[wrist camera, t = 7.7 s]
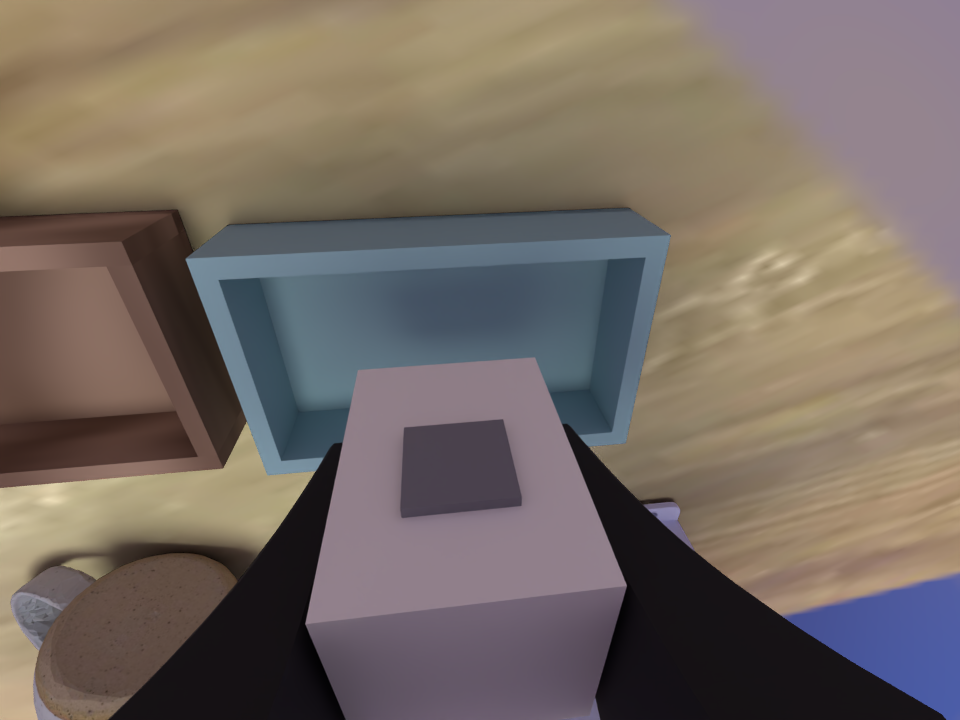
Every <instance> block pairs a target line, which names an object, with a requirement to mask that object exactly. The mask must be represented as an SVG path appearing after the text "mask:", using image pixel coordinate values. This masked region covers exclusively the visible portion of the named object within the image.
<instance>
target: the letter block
mask: <svg viewBox="0 0 960 720" xmlns="http://www.w3.org/2000/svg"><path fill="white" fill-rule="evenodd" d="M626 587H627V585H626V582H625V580H624V577H623V575H622V572H621V570H620V568H619V565H618V563H617V560H616V558H615V555H614V553H613V550H612V548H611V545H610V543H609V540H608V538H607V535H606V533H605V530H604V528H603V525H602V523H601V520H600V518H599V515H598V513H597V510H596V508H595V505H594V503H593V500H592V498H591V495H590V493H589V491H588V488H587V486H586V483H585V481H584V478H583V476H582V473H581V471H580V468H579V466H578V463H577V461H576V458H575V456H574V453H573V451H572V448H571V446H570V443H569V441H568V438H567V436H566V433H565V431H564V428H563V426H562V423H561V421H560V419H559V416H558V414H557V411H556V409H555V406H554V404H553V401H552V399H551V396H550V394H549V391H548V389H547V386H546V384H545V381H544V379H543V376H542V374H541V371H540V369H539V366H538V364H537V361H536V359H535V357H533V358H519V359H505V360H491V361H477V362H463V363H449V364H435V365H421V366H407V367H393V368H379V369H365V370H358V372H357V377H356V382H355V387H354V391H353V396H352V401H351V406H350V411H349V416H348V420H347V425H346V430H345V435H344V440H343V445H342V449H341V454H340V459H339V464H338V469H337V474H336V478H335V483H334V488H333V493H332V498H331V503H330V507H329V512H328V517H327V522H326V527H325V532H324V536H323V541H322V546H321V551H320V556H319V561H318V565H317V570H316V575H315V580H314V585H313V589H312V594H311V599H310V604H309V609H308V614H307V618H306V623H305V625H306V627H307V629H308V632H309V634H310V636H311V639H312V641H313V643H314V646H315V648H316V651H317V653H318V655H319V658H320V660H321V662H322V665H323V667H324V669H325V672H326V674H327V676H328V679H329V681H330V684H331V686H332V688H333V691H334V693H335V695H336V698H337V700H338V702H339V705H340V707H341V710H342V712H343V714H344V717H345V719H346V720H563V719H569V718H576V717H583V716H590V713H591V709H592V706H593V702H594V699H595V695H596V692H597V688H598V685H599V681H600V678H601V674H602V671H603V667H604V664H605V660H606V657H607V653H608V650H609V646H610V643H611V639H612V636H613V633H614V629H615V626H616V622H617V619H618V615H619V612H620V608H621V605H622V601H623V598H624V594H625V591H626Z"/></svg>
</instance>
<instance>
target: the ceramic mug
mask: <svg viewBox="0 0 960 720" xmlns="http://www.w3.org/2000/svg"><path fill="white" fill-rule="evenodd" d="M237 582H238V581H237V579H236V578H235V577H234V575H233V574H232V573H231V572H230V571H229V570H228V568H227V567H226V566H224V565H223V564H221V563H220V562H217V561H215V560H212V559H210V558H208V557H205V556H203V555H197V554H190V553H170V554H163V555H157V556H151V557H146V558H143V559H140V560H137V561H133V562H131V563H128V564H126V565H123V566H121V567H119V568H117V569H116V570H114V571H112V572H110V573H108V574H106V575H105V576H103V577H101V578H99V579H98V580H96V579H94V578H93V577H91V576H89V575H87V574H86V573H84V572H82V571H79V570H75V569H73V568H70V567H66V566H54V567H50V568H48V569H46V570H45V571H43V572H42V573H40V574H39V575H37V576H36V577H35V578H33V579H32V580H31V581H29V582H28V583H26V584H25V585H24V586H22V587H21V588H20V589H19V590H17V591H16V592H15V593H14V594H13V595H12V598H11V608H12V612H13V615H14V617H15V619H16V621H17V623H18V625H19V626H20V628H21V630H22V631H23V633H24V634H25V635H26V636H27V638H28V639H29V640H30V641H31V642H32V644H33V645H34V646H35V647H36V648H37V649H38V650H39V654H38V658H37V663H36V667H35V672H34V684H33V688H34V705H35V709H36V713H37V717H38V720H108V719H109V718H110V717H111V716H112V715H113V714H114V713H115V712H116V711H117V710H118V709H119V708H120V707H121V706H122V705H124V704H125V703H126V702H127V701H128V700H129V699H130V698H131V697H132V696H133V695H134V694H135V693H136V692H137V691H138V690H139V689H140V688H141V687H142V686H143V685H144V684H145V683H146V682H147V681H148V680H149V679H150V678H151V677H152V676H153V675H154V674H155V673H156V672H157V671H158V670H159V669H160V668H161V667H162V666H163V665H164V664H165V663H166V662H167V660H168V659H169V658H170V657H171V656H172V655H173V654H174V653H175V652H176V651H177V650H178V649H179V648H180V646H181V645H182V644H183V643H184V642H185V641H186V640H187V639H188V638H189V637H190V636H191V635H192V633H193V632H194V631H195V630H196V629H197V628H198V627H199V626H200V625H201V624H202V623H203V622H204V620H205V619H206V618H207V617H208V616H209V615H210V614H211V612H212V611H213V610H214V609H215V608H216V607H217V605H218V604H219V603H220V602H221V601H222V600H223V598H224V597H225V596H226V595H227V594H228V593H229V591H230V590H231V589H232V588H233V586H234V585H235V584H236V583H237Z"/></svg>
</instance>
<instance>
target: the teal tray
mask: <svg viewBox="0 0 960 720" xmlns="http://www.w3.org/2000/svg"><path fill="white" fill-rule="evenodd" d="M670 237H671V235H670V234H668V233H667V232H665V231H664V230H662V229H661V228H659V227H657V226H656V225H654V224H653V223H651V222H650V221H648V220H647V219H645V218H644V217H642V216H641V215H639V214H637V213H636V212H634V211H633V210H631V209H630V208H611V209H587V210H564V211H540V212H517V213H494V214H470V215H447V216H423V217H400V218H376V219H353V220H329V221H306V222H282V223H259V224H235V225H227V226H226V227H225V228H224V229H222V230H221V231H220V232H218V233H217V234H216V235H215V236H213V237H212V238H211V239H210V240H208V241H207V242H206V243H205V244H203V245H202V246H201V247H200V248H198V249H197V250H196V251H195V252H193V253H192V254H191V255H189V256H188V257H187V258H186V262H187V264H188V267H189V270H190V272H191V275H192V278H193V280H194V283H195V285H196V288H197V291H198V293H199V296H200V299H201V301H202V304H203V307H204V309H205V312H206V314H207V317H208V320H209V322H210V325H211V328H212V330H213V333H214V336H215V338H216V341H217V343H218V346H219V349H220V351H221V354H222V357H223V359H224V362H225V365H226V367H227V370H228V372H229V375H230V378H231V380H232V383H233V386H234V388H235V391H236V394H237V396H238V399H239V401H240V404H241V407H242V409H243V412H244V415H245V417H246V420H247V423H248V425H249V428H250V430H251V433H252V436H253V438H254V441H255V444H256V446H257V449H258V452H259V454H260V457H261V459H262V462H263V465H264V467H265V470H266V473H267V475H277V474H288V473H299V472H310V471H316V470H317V468H318V467H319V465H320V463H321V462H322V460H323V458H324V457H325V455H326V453H327V452H328V450H329V448H330V447H331V446H332V445H333V444H334V443H343V440H344V435H345V430H346V425H347V420H348V416H349V411H350V406H351V401H352V396H353V391H354V387H355V382H356V377H357V372H358V370H365V369H379V368H393V367H407V366H421V365H435V364H449V363H463V362H477V361H491V360H505V359H519V358H533V357H535V359H536V361H537V364H538V366H539V369H540V371H541V374H542V376H543V379H544V381H545V384H546V386H547V389H548V391H549V394H550V396H551V399H552V401H553V404H554V406H555V409H556V411H557V414H558V416H559V419H560V421H561V423H562V424H566V423H567V424H568V425H570V426H571V427H572V428H573V430H574V431H575V432H576V433H577V434H578V436H579V437H580V438H581V439H582V440H583V441H584V442H585V444H586V445H587V446H588V447H590V446H601V445H612V444H623V443H626V439H627V435H628V430H629V425H630V421H631V416H632V412H633V407H634V402H635V398H636V393H637V389H638V384H639V379H640V375H641V370H642V366H643V361H644V356H645V352H646V347H647V343H648V338H649V333H650V329H651V324H652V320H653V315H654V310H655V306H656V301H657V297H658V292H659V288H660V283H661V278H662V274H663V269H664V265H665V260H666V255H667V251H668V246H669V242H670Z"/></svg>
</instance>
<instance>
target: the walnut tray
mask: <svg viewBox="0 0 960 720" xmlns="http://www.w3.org/2000/svg"><path fill="white" fill-rule="evenodd" d="M192 253H193V251H192V248H191V246H190V243H189V240H188V237H187V235H186V232H185V229H184V226H183V224H182V221H181V218H180V216H179V213H178V210H162V211H136V212H111V213H86V214H60V215H35V216H10V217H0V488H4V487H16V486H27V485H39V484H50V483H62V482H73V481H85V480H96V479H107V478H119V477H130V476H142V475H153V474H165V473H176V472H187V471H199V470H210V469H222V468H224V466H225V464H226V462H227V460H228V458H229V456H230V454H231V452H232V450H233V448H234V446H235V444H236V442H237V440H238V438H239V436H240V434H241V432H242V430H243V428H244V426H245V424H246V422H247V420H246V417H245V415H244V412H243V409H242V407H241V404H240V401H239V399H238V396H237V394H236V391H235V388H234V386H233V383H232V380H231V378H230V375H229V372H228V370H227V367H226V365H225V362H224V359H223V357H222V354H221V351H220V349H219V346H218V343H217V341H216V338H215V336H214V333H213V330H212V328H211V325H210V322H209V320H208V317H207V314H206V312H205V309H204V307H203V304H202V301H201V299H200V296H199V293H198V291H197V288H196V285H195V283H194V280H193V278H192V275H191V272H190V270H189V267H188V264H187V262H186V258H187V257H188V256H189V255H191V254H192Z"/></svg>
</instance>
